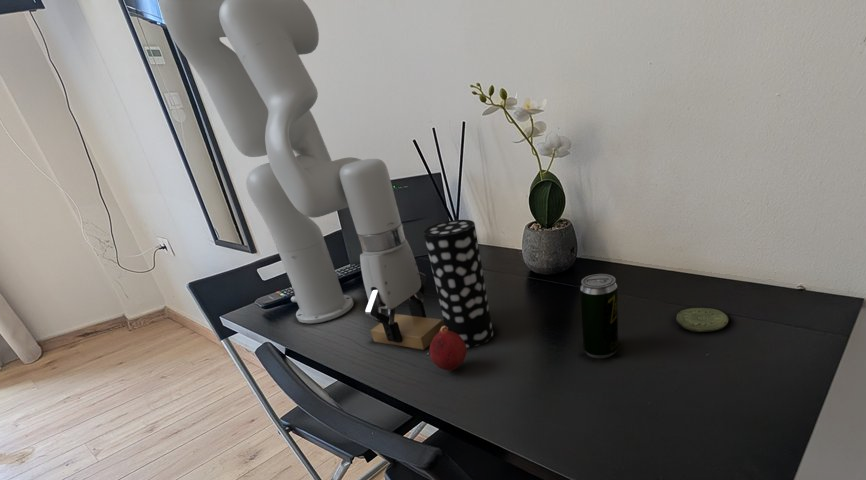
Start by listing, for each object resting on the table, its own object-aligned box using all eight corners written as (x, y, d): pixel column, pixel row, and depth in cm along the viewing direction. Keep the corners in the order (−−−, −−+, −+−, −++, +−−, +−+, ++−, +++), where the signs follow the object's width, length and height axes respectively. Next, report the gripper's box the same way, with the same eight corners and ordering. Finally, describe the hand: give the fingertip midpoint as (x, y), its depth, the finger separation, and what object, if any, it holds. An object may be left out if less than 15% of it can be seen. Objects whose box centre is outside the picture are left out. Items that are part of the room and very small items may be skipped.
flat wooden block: (373, 341, 89) (370, 330, 88) (396, 324, 94) (393, 313, 93) (424, 349, 84) (420, 337, 82) (445, 331, 88) (442, 319, 87)
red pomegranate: (456, 383, 73) (445, 338, 69) (428, 376, 76) (416, 333, 72) (476, 364, 77) (468, 320, 73) (449, 358, 80) (439, 316, 76)
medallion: (680, 307, 82) (681, 303, 82) (730, 311, 79) (731, 307, 78) (671, 329, 77) (672, 325, 76) (725, 334, 73) (725, 330, 73)
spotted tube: (488, 347, 81) (467, 233, 70) (442, 348, 83) (416, 238, 72) (497, 324, 88) (479, 217, 77) (455, 325, 90) (432, 222, 79)
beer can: (581, 359, 73) (577, 288, 67) (586, 341, 78) (582, 273, 71) (616, 360, 72) (615, 287, 65) (619, 342, 76) (618, 272, 70)
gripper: (397, 223, 87) (419, 309, 96) (329, 256, 75) (362, 351, 84) (429, 223, 83) (449, 312, 93) (364, 258, 71) (394, 357, 80)
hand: (408, 330), depth 88 cm, fingers closed on flat wooden block, 7 cm apart
